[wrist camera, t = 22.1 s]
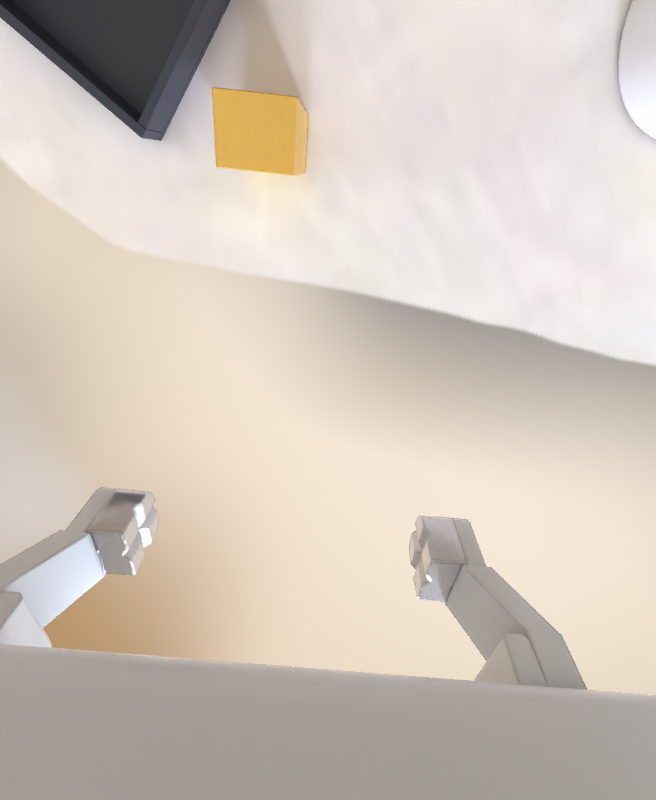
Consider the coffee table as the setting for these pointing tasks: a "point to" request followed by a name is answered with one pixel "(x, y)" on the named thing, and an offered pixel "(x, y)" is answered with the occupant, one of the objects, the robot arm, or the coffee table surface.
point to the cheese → (259, 132)
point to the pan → (123, 50)
